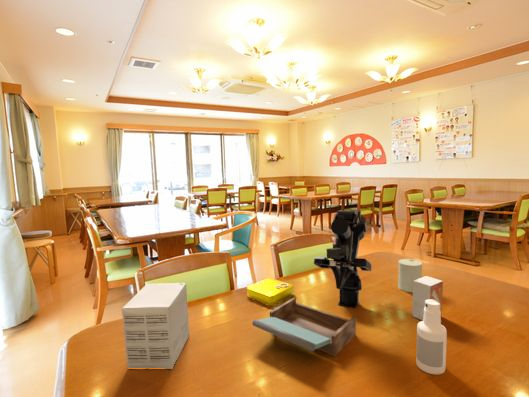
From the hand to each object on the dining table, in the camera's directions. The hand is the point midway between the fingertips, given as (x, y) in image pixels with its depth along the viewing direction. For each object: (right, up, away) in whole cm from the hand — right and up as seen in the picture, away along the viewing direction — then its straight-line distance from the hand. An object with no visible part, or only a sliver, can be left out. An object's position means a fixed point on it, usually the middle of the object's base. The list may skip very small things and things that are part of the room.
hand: (339, 289), depth 104 cm
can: (+37, -8, +29) cm, 48 cm away
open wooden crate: (-10, -13, -2) cm, 17 cm away
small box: (+32, -11, +5) cm, 34 cm away
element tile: (-22, -11, +27) cm, 37 cm away
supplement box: (-56, -16, -10) cm, 59 cm away
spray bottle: (+19, -15, -21) cm, 32 cm away
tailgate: (-14, -10, -8) cm, 19 cm away
